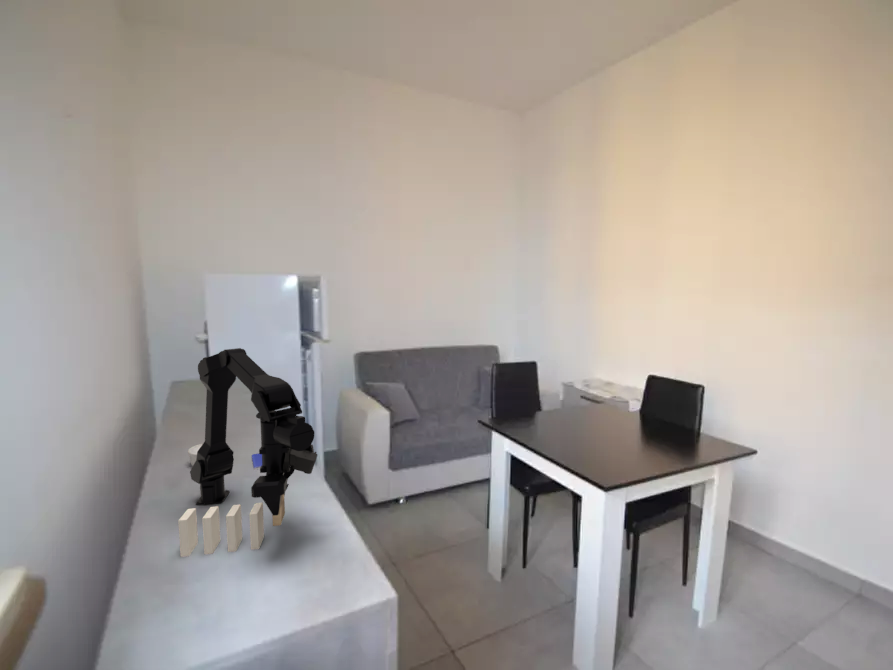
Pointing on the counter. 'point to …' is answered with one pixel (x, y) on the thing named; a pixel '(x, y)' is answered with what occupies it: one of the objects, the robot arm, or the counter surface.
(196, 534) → the domino
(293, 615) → the counter surface
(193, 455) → the ramekin
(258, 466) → the hard drive
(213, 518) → the domino
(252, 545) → the domino
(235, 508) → the domino
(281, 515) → the maple domino
